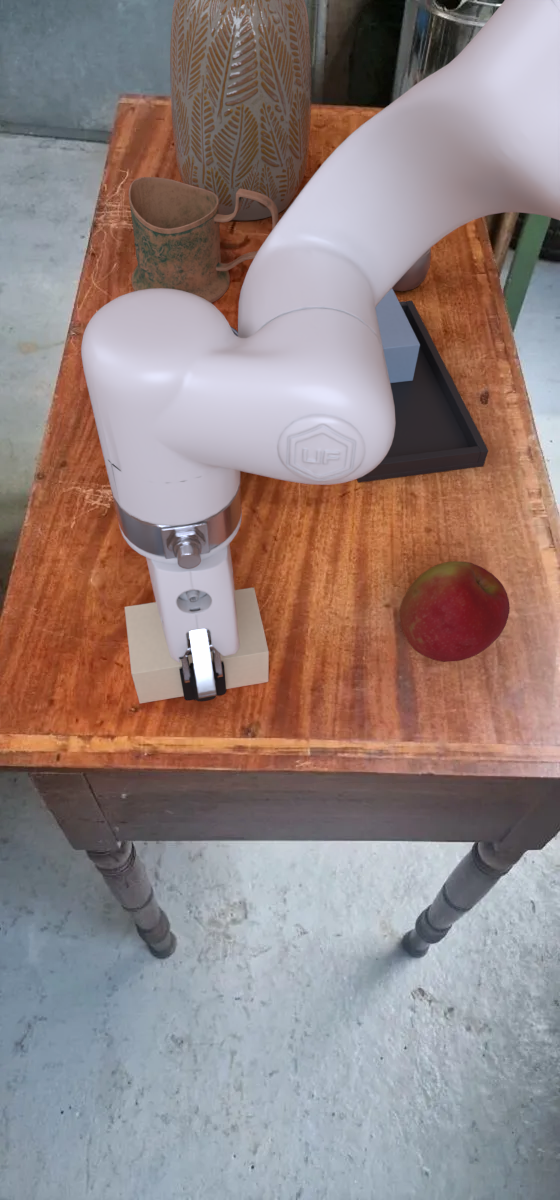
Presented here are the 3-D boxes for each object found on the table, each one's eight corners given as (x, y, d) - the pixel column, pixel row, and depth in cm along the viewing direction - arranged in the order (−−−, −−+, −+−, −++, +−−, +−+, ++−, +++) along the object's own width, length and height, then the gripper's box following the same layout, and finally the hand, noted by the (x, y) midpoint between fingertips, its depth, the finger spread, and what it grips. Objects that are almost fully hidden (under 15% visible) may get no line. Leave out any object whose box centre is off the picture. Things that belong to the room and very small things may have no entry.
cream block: (132, 638, 62) (124, 606, 59) (254, 619, 64) (254, 586, 60) (139, 703, 59) (131, 674, 55) (268, 682, 60) (268, 651, 57)
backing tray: (409, 316, 89) (412, 300, 87) (483, 466, 75) (488, 450, 73) (302, 327, 87) (303, 310, 86) (358, 482, 73) (360, 466, 72)
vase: (313, 171, 108) (328, -78, 86) (297, 236, 98) (309, -27, 76) (193, 159, 109) (177, -90, 87) (164, 222, 99) (139, -41, 77)
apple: (487, 690, 60) (515, 635, 54) (386, 665, 62) (401, 607, 55) (498, 614, 65) (525, 553, 58) (403, 591, 66) (419, 530, 59)
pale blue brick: (386, 324, 87) (392, 287, 83) (413, 380, 81) (420, 344, 78) (335, 329, 86) (338, 292, 82) (357, 387, 80) (362, 350, 77)
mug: (258, 330, 87) (258, 225, 77) (115, 297, 90) (98, 192, 80) (290, 275, 93) (295, 173, 83) (156, 246, 96) (145, 143, 86)
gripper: (267, 606, 42) (266, 748, 57) (218, 398, 52) (228, 565, 66) (128, 628, 41) (163, 766, 56) (105, 412, 51) (140, 578, 65)
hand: (198, 656), depth 61 cm, fingers closed on cream block, 6 cm apart
